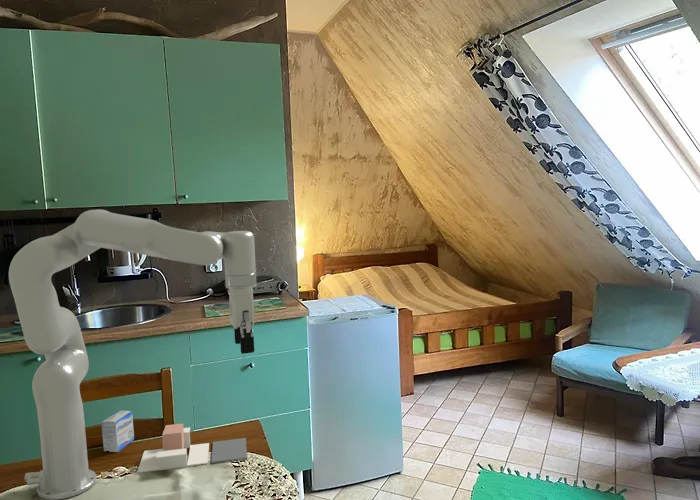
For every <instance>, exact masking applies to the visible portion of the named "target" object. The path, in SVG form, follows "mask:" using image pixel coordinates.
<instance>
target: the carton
mask: <svg viewBox="0 0 700 500" xmlns="http://www.w3.org/2000/svg"><path fill="white" fill-rule="evenodd" d="M183 428H184V444H185V449H176V450H168V451H164V443H163V442H162V448H157V449H156V448H155V449H148V450H144V452H143V453H142V457H141V460H140V462H139V465H138V468H137V474H140V473H141V474H142V473H149V472H155V471H164V470H172V469H179V468H181V469H182V468H186V467H194V466H195V465H196V466H201V465H200V464H204V465H208V464H209V463H208V462H209V451H210V442H208V443H207V442H205V443H199V444H198V443H197V444H191V436H190V435H191V432H190V431H191V426H190V427H183ZM163 433H164V430H163V431H162V438H163ZM187 449H189V452H188V453H187Z"/></svg>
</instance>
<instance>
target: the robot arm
mask: <svg viewBox="0 0 700 500" xmlns="http://www.w3.org/2000/svg"><path fill="white" fill-rule="evenodd" d="M102 248H103V249H108V250H114V251H119V252H127V253H132V254H138V255H144V256H149V257H154V258H160V259H163V260H164V259H165V260H169V261H175V262H179V263H180V262H181V263H186V264H193V265H197V266H198V265H199V266H210V265H214V264H216V263H217V262H218V261H220V260H224V262H223V263H224V274H225V275H224V276H225V278H224V279H225V288H226V289H229V297H228V300H229V302H228V303H229V305H228V306H229V322H230V324H231V325H232V327H233V328H234V329H233V330H234V331H233V332H234V342H235V345H240V353H241V354H242V355H244V354H251V353H253V354H254V352H255V340H254V339H255V336H254V331H253V327H254V326H255V309H254V308H255V306H254V305H255V304H254V292H253V291H254V290H253V288H255V287H257V270H256V269H257V264H256V249H255V235H254V234H253V232H251V231H249V230H234V231H233V230H231V231H227V232H222V231H220V232H219V231H211V230H209V231H206V230H205V231H202V232H201V231H200V232H199V231H194V230H188V229H183V228H178V227H173V226H169V225H165V224H163V223H161V222H159V221H157V220H154V219H150V218H144V217H137V216H131V215H127V214H119V213H116V212H110V211H108V210H106V209H88V210H86V211H83V212H82V213H80V214H79V216H78V217H77V218H76V220H75V222H74V223H72V224H70V225H68V226H67V227H65V228H64V229H62V230H60V231H57V232H56V233H54V234H52V235H47V236H43V237H39V238H37V239H34V240H32V241H30V242H29V243H27V244H26V245H25V244H24V246H23V247H22V248H21V249H19V250H18V251H17V253H16V254H15V255H14V256H13V258H12V260H11V262H10V264H9V269H8V280H9V286H10V290H11V293H12V296H13V298H14V304H15V307H16V312H17V315H18V319H19V323H20V327H21V329H22V330H21V331H22V334H23V336H24V337H23V339H24V341H25V344H26V346H27V348H29V350H30V351H32V352H33V353H34V354H37V355H44V359H45V360H44V361H43V362H42V363H41V364H40V365H39V367H38V368H37V369H36V371H35V373H34V375H33V376H32V377H33V378H32V382H31V387H32V395H33V398H34V401H35V406H36V411H37V420H38V430H39V439H40V449H41V461H42V469H40V471H35V472H33V471H32V472H26V473H25V474H24V482H25V483H26V486H32V485H38V486H37V488H36V491H37V495H38V497H39V498H41V499H44V500H62V499H63V500H64V499H67V498H71V497H75V496H77V495H80V494H82V493H84V492H86V491H87V490H89V489H90V488H92V487H93V486H94V485H95V483H96V482H97V473H96V472H95V471H94V470H92V469H89V459H88V448H87V445H88V444H87V435H86V422H85V412H84V404H83V399H82V396H81V390H80V385H81V383H82V382H83V380H84V379H85V377H86V376H87V373H88V371H89V367H90V366H89V365H90V363H89V362H90V361H89V356H88V352H87V348H86V344H85V341H84V337H83V334H82V330H81V326H80V322H79V320H78V319H77V318H78V317H76V314H74V313H73V312H72V311H71V310H70V309H68V308H66V307H63V306H60V302H59V299H58V298H59V297H58V294H57V291H56V288H55V286H54V285H53V282H52V276H53V275H54V274H55V273H58V272H60V271H62V270H65V269H68V268H70V267H71V266H73V265H75V264H77V263H79V261H82V260H83V259H84V258H87V257H88V256H89V255H91V254H92V253H95V252H96V251H98V250H99V249H102Z"/></svg>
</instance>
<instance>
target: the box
mask: <svg viewBox="0 0 700 500" xmlns="http://www.w3.org/2000/svg"><path fill="white" fill-rule="evenodd" d="M184 428H185V427H184V423H175V424H166V425H165V426H164V430H163V431H164V433H163V432H162V435H163V437H162V444H163V443H164V451H168V450H176V449H185V444H184Z"/></svg>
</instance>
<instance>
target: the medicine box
mask: <svg viewBox="0 0 700 500" xmlns="http://www.w3.org/2000/svg"><path fill="white" fill-rule="evenodd" d="M133 418H134V417H133V411H131V410H119V411H117V412H115V413H113V414H112V415H111V416H109V417H107V418H106V419H104V420H102V421H101V431H102V432H101V433H102V435H101V436H102V444H103V445H102V446H103V452H106V451H109V453H119V452H121V451H122V450H123V449H124V448H126V447H127V446H128V445H130V444H131V443H132V442H133V441H134V440H135V432H134V419H133Z"/></svg>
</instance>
